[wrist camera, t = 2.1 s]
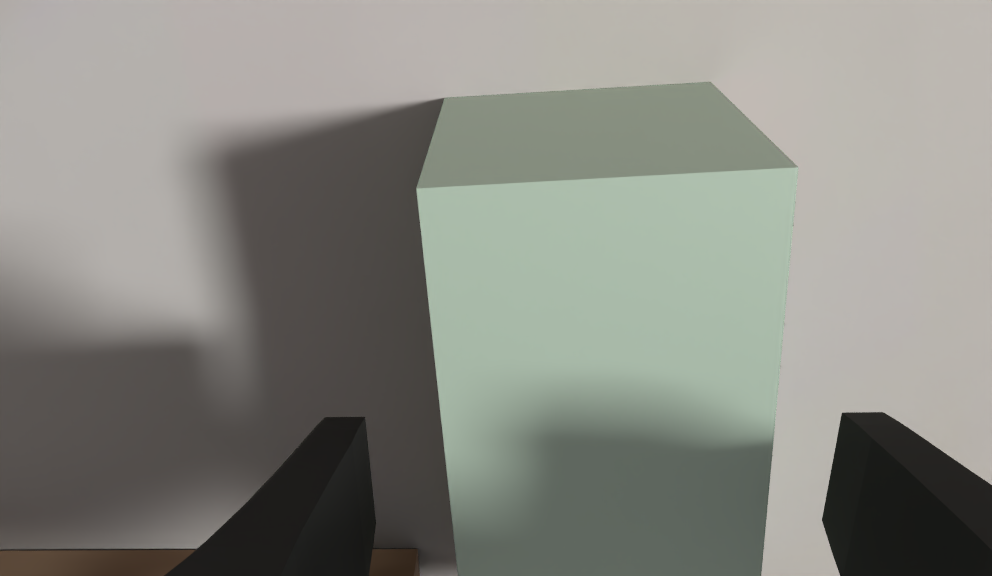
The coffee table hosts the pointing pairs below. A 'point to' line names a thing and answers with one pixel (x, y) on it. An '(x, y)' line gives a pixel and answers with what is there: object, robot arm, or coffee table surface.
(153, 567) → the shelf frame
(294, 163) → the coffee table surface
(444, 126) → the pale green rectangular block
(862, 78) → the coffee table surface
